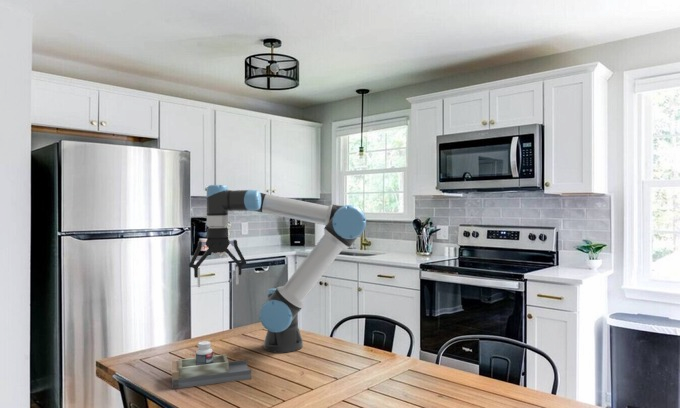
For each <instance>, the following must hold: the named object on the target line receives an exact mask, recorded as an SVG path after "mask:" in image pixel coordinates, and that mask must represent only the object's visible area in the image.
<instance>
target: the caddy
mask: <svg viewBox="0 0 680 408" xmlns="http://www.w3.org/2000/svg"><path fill="white" fill-rule="evenodd" d="M228 360H229V359H228V357H227V354H226V353H224V354H216V355H213V363H212V364H204V365H196V357H189V358H188V357H187V358H183V359H178V361H179V379H181V378H189V377H197V376H205V375H213V374H221V373H229V362H230V361H228Z"/></svg>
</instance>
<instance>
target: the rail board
mask: <svg viewBox="0 0 680 408" xmlns="http://www.w3.org/2000/svg"><path fill="white" fill-rule="evenodd" d="M228 362H229V373H221V374H213V375H205V376H197V377H189V378H181V379H179V360H176V361H175V360H174V361H173V360H172V362H171V389H172V390H174V389H175V390H176V389H182V388H192V387H197V386H198V387H200V386H205V385H212V384H214V385H215V384H219V383H228V382H236V381H244V380H251V379H252V370H251V369H250V368H249V366H248V364H247V363H248V362H247V359H242V360H234V361H233V360H232V361H228Z"/></svg>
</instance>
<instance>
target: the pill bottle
mask: <svg viewBox="0 0 680 408" xmlns="http://www.w3.org/2000/svg"><path fill="white" fill-rule="evenodd" d="M211 346H212V344H211V341H208V340H202V341H199V342H197V348H198V349H197V350H196V351H195V358H196V365H204V364H212V363H213V356H214V354H213V353H214V352H213V351H214V350H213V349H212V348H211Z"/></svg>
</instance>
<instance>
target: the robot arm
mask: <svg viewBox="0 0 680 408" xmlns="http://www.w3.org/2000/svg"><path fill="white" fill-rule="evenodd" d="M205 199H206V227H207V229H206V241H201V240H199V241H197V247H196V249H195V252H194V254H193V256H192V257H191V259H190V261H189V264H188V267H189V268H191V269H193V272H194V273H193V274H194V275H193V276H194V278H195V279H196V278H197V287H198V288H201V268H200V265H202V263H203V262H204V261H205V260H206V259H207V258H208V256H209V255H210V254H211V253H212V254H217V253H220V254H222V253H224V252H225V253H226V254H227V255H228V257H230V259H231V260H232V261H233V262H234V263H235V264H236V266H235V284H236V286H237V285H239V283H240V281H239V276H241V275H242V266H244V265H246V264H247V261H246V259H245V258H244V255H243V253H242V252H241V250H240V248H239V245H238V241H237V239H233V240H229V228H228V226H229V211H230V212H234V211H236V212H240V211H242V212H243V211H244V212H246V211H249V212H257V213H258V212H259V213H262V214H268V215H272V216H277V217H283V218H288V219H293V220H298V221H302V222H307V223H314V224H317V225H321V226H322V225H323V226H324V228H323V230H324V231H323V233H324V234H323V236H322V237H321V238H320V240H318V242H317V243H316V244H315V246H314V247H313V249H311V251H310V252H309V254H308V255H307V256H306V257H305V259H304V260H303V261H302V262H301V264H300V265H299V266H298V268H297V269H296V270H295V271H294V273H293V274H292V275H291V276H290V277H289V278H288V280H287V282H286V283H285V284H284V285H283V286H278V287H276V288H269V289H268V290H267V291H268V292H267V294H266V295H267V301H265V302H264V303H263V305H262V306H261V308H260V311H259V320H260V323H261V325H262V326H263V328H264V329H265V330H266V335H265V337H264V341H263V348H264V350H265V351H267V352H271V353H290V352H294V351H295V352H296V351H299V350H301V349H302V348H303V346H304V345H303V337H302V334H301V332H300V328H299V312H301V310H302V309H303V307H304V304H303V303H304V299H305V298H306V297H307V295H308V294H309V293H310V292H311V290H312V289H313V288H314V287H315V285H316V284H317V283H318V282H319V280H321V278H322V276H323V275H324V274H325V273H326V271H327V270H328V269H329V267H330V266H331V265H332V264H333V262H334V261H335V260H336V258H337V257H339V255H340V253H342V251H343V250H344V249H349V248H350V247H351V246H352V245H353V244H354V242H356V240H357V239H358V237H360V236H361V235H362V234H363V233H364V231H365V229H366V226H367V217H366V214H365V212H364V211H363V210H362V209H361V208H360V207H358V206H357V205H354V204H353V205H352V204H347V205H338V204H333V203H332V204H330V205H324V204H319V203H315V202H309V201H303V200H298V199H293V198H290V197H284V196H279V195H273V194H269V193H263V192H260V190H257V189H255V190H254V189H248V190H247V189H241V190H240V189H239V190H238V189H237V190H229V188H228V185H226V184H210V185H208V186H207V188H206V197H205ZM230 245H231V246H232V247H233V248H234V250H235V252H236V254H237V256H238V257H239V259H237V257H236V256H235V255H234V254H233V253H232V252H231V251H230V250H229V249H228V247H229V246H230ZM204 246H206V247H207V249H206V251H205V252H204V253H203V254H202V256H200V258H199V259H198V261H196V260H197V258H198V256H199V254H200V252H201V250H202V248H204ZM239 260H240V261H239ZM195 262H196V263H195Z"/></svg>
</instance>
